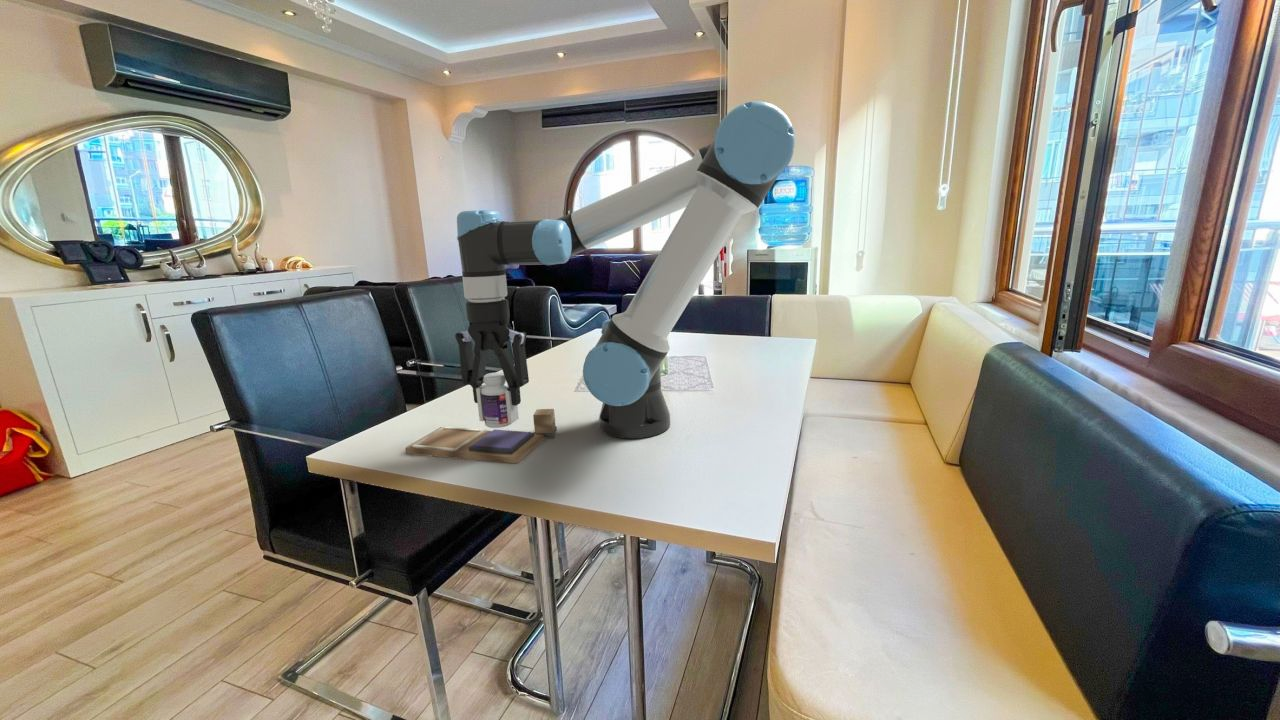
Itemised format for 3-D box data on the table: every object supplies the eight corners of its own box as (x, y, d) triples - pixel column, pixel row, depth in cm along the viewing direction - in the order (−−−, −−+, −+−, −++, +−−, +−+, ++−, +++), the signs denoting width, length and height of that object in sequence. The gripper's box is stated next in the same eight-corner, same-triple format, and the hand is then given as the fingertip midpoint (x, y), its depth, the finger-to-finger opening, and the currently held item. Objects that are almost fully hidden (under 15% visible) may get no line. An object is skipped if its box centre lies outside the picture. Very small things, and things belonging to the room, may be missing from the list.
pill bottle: (506, 429, 96) (501, 379, 94) (479, 428, 97) (474, 378, 95) (518, 419, 101) (514, 371, 99) (493, 418, 102) (488, 370, 100)
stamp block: (556, 430, 109) (555, 408, 108) (553, 438, 105) (551, 414, 104) (538, 431, 109) (536, 408, 108) (534, 438, 105) (532, 415, 104)
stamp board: (543, 440, 104) (542, 429, 104) (517, 463, 94) (515, 452, 93) (441, 432, 111) (440, 422, 110) (406, 453, 100) (404, 442, 100)
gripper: (542, 296, 95) (551, 416, 100) (455, 296, 99) (468, 410, 105) (522, 302, 88) (533, 430, 93) (430, 301, 92) (445, 423, 98)
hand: (499, 419), depth 99 cm, fingers closed on pill bottle, 5 cm apart
